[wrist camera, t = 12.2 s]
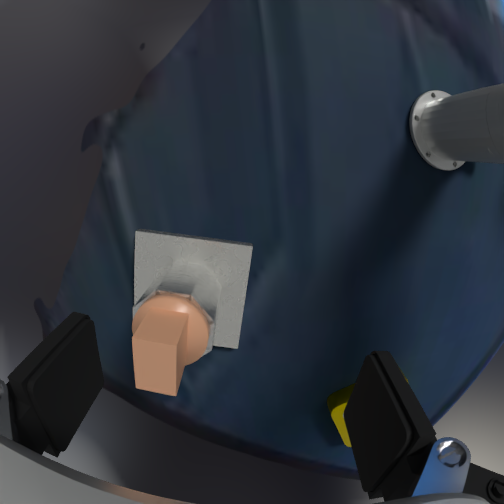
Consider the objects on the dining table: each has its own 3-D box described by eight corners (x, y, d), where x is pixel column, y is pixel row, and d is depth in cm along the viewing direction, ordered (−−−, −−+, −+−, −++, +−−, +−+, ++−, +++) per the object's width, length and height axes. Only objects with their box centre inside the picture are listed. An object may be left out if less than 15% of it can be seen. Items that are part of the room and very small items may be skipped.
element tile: (342, 435, 53) (347, 451, 49) (323, 394, 50) (328, 412, 45) (406, 406, 52) (414, 421, 47) (397, 360, 48) (408, 375, 43)
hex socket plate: (252, 243, 41) (254, 272, 30) (237, 343, 45) (235, 392, 34) (139, 228, 40) (104, 250, 29) (138, 327, 45) (112, 370, 34)
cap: (215, 288, 34) (203, 338, 24) (209, 349, 36) (198, 408, 26) (144, 278, 33) (108, 320, 23) (144, 338, 36) (116, 391, 25)
